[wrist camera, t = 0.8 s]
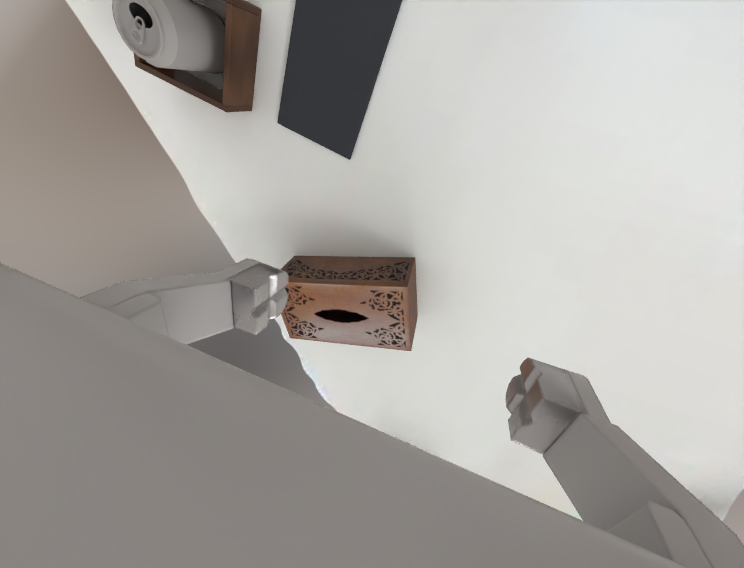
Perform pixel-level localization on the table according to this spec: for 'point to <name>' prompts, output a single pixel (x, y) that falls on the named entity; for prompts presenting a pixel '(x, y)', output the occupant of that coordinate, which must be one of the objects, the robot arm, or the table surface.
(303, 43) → the mat
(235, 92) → the crate
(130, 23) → the can
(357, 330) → the tissue box cover
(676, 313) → the table surface
